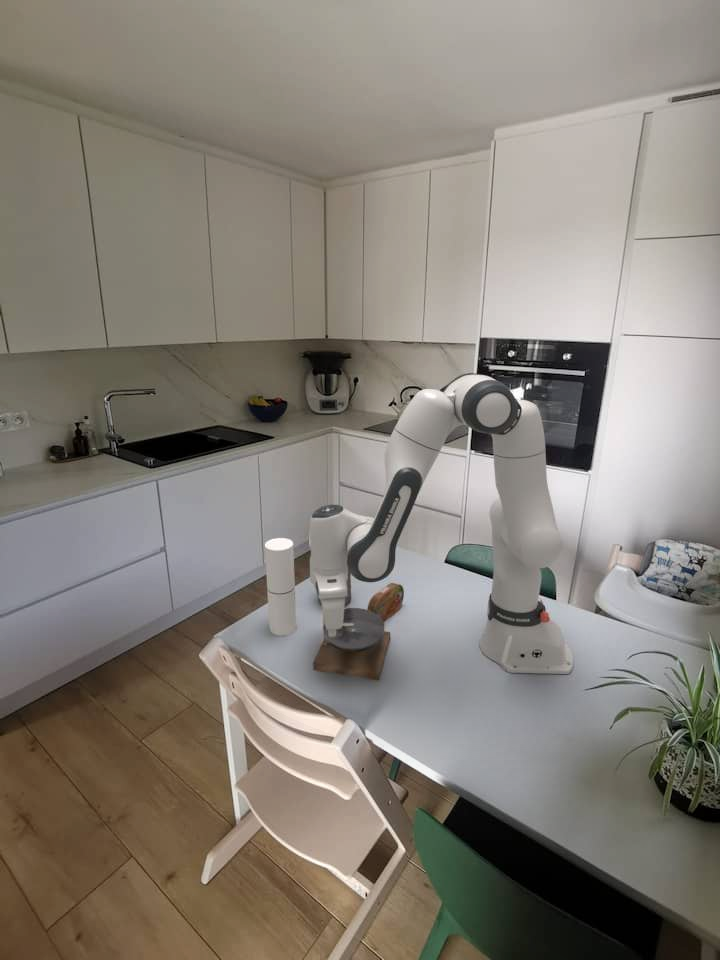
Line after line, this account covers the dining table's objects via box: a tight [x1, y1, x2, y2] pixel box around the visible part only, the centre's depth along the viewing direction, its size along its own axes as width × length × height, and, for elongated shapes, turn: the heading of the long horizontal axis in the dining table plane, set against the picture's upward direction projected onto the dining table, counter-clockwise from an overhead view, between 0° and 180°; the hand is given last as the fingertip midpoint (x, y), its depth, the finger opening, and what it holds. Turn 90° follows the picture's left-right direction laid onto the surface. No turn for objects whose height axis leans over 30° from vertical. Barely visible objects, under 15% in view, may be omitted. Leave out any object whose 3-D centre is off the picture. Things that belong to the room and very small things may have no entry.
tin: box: [366, 582, 405, 623], centre depth 139 cm, size 15×3×8 cm, turn 143°
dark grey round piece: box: [322, 607, 385, 652], centre depth 122 cm, size 15×15×6 cm
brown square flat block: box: [312, 630, 391, 681], centre depth 124 cm, size 16×16×6 cm
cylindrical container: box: [264, 537, 297, 637], centre depth 130 cm, size 7×7×25 cm
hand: (329, 622), depth 120 cm, fingers open, 8 cm apart
